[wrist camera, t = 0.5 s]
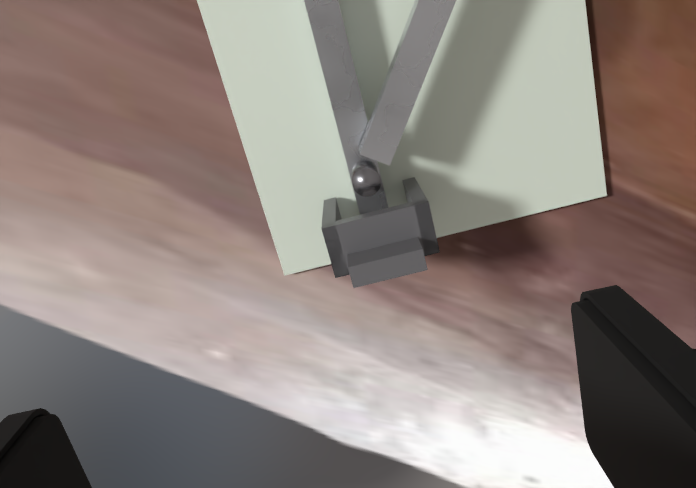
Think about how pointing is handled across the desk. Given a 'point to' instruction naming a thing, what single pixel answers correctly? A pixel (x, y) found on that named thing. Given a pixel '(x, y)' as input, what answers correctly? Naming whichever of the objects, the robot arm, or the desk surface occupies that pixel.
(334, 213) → the lock collar
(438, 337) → the desk surface
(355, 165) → the base
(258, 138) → the mat
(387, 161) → the jaw
